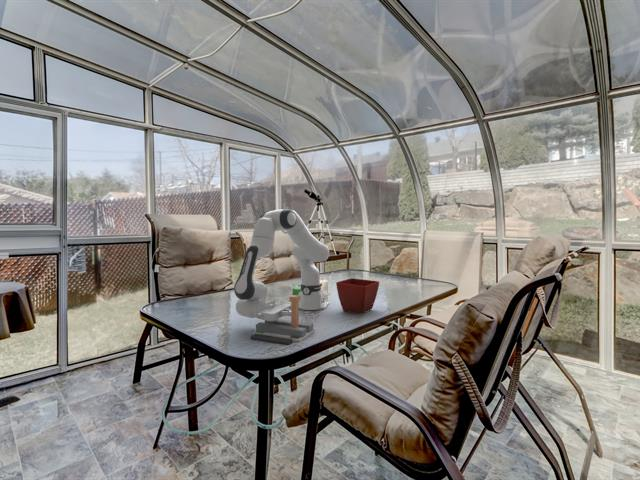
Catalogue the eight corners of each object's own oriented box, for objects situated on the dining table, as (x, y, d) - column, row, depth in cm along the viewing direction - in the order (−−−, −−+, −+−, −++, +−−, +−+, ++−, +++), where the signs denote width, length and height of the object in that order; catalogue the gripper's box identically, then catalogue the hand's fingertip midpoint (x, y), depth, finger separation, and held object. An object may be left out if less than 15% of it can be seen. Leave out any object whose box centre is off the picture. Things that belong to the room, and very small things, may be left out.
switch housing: (271, 324, 174) (271, 316, 174) (315, 330, 165) (315, 322, 165) (253, 334, 159) (253, 325, 159) (300, 341, 150) (300, 332, 150)
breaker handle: (293, 329, 162) (293, 294, 161) (300, 330, 161) (300, 295, 160) (289, 331, 159) (289, 296, 158) (296, 332, 157) (296, 297, 156)
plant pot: (379, 309, 205) (380, 281, 204) (365, 316, 189) (365, 286, 188) (351, 304, 215) (351, 277, 214) (335, 311, 200) (335, 282, 199)
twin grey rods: (254, 336, 156) (254, 332, 156) (293, 342, 149) (293, 338, 149) (249, 339, 153) (249, 335, 153) (289, 345, 145) (289, 341, 145)
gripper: (254, 309, 156) (281, 312, 150) (277, 299, 174) (302, 301, 169) (254, 322, 156) (281, 326, 151) (277, 311, 175) (302, 314, 169)
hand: (292, 313), depth 160 cm, fingers closed, pressing on breaker handle
